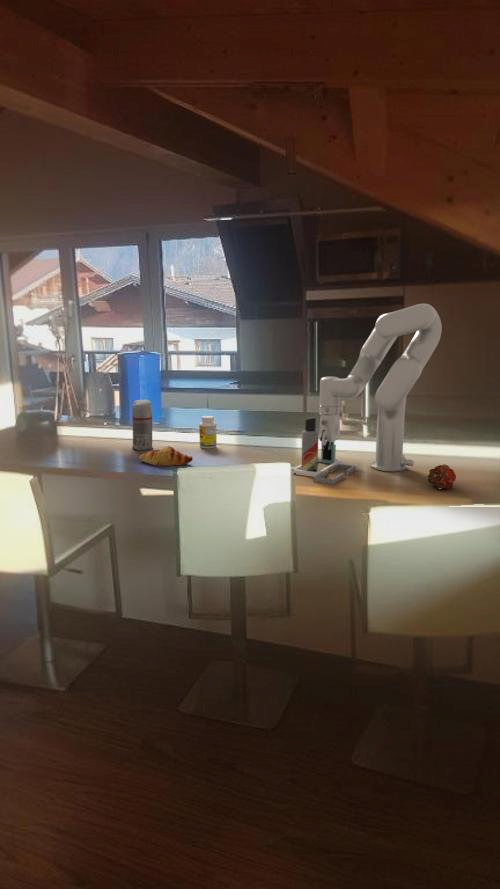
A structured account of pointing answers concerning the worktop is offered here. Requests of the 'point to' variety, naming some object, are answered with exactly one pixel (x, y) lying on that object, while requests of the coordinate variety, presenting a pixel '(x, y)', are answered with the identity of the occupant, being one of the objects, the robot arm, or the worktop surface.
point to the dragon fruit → (442, 476)
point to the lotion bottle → (310, 446)
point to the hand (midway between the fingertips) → (328, 458)
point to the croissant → (165, 457)
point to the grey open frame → (332, 481)
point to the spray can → (142, 424)
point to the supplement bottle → (207, 432)
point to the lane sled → (332, 462)
